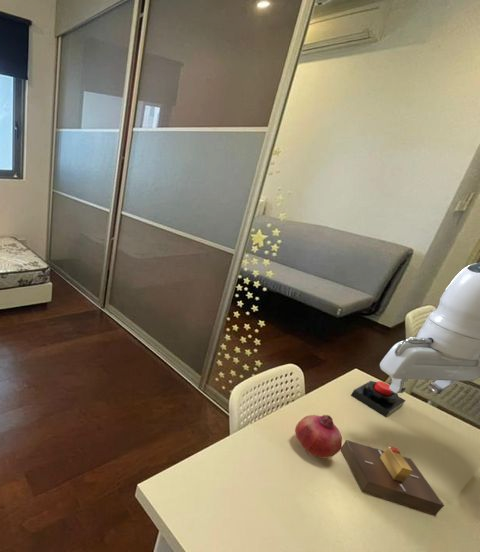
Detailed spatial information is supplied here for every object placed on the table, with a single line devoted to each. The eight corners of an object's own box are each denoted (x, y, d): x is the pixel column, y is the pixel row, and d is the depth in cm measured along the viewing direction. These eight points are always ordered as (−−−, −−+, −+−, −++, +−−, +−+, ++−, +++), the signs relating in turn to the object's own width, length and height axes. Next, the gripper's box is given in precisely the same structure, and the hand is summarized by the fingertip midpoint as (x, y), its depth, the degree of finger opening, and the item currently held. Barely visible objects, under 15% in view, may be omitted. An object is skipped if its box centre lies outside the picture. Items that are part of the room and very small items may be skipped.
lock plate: (403, 467, 69) (411, 458, 67) (435, 515, 60) (444, 505, 59) (340, 448, 71) (346, 439, 70) (361, 491, 63) (369, 481, 61)
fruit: (340, 462, 68) (362, 429, 64) (313, 470, 66) (334, 436, 62) (307, 431, 75) (325, 399, 71) (281, 436, 73) (297, 404, 69)
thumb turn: (403, 482, 62) (413, 469, 60) (393, 479, 62) (403, 467, 61) (388, 460, 66) (397, 447, 65) (379, 457, 67) (388, 445, 65)
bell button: (377, 384, 88) (380, 379, 87) (393, 393, 85) (396, 388, 85) (371, 388, 87) (374, 383, 86) (387, 397, 84) (390, 392, 83)
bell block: (367, 386, 93) (373, 375, 91) (401, 406, 87) (409, 395, 85) (350, 395, 88) (357, 384, 87) (385, 417, 82) (393, 406, 80)
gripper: (421, 347, 60) (385, 401, 66) (513, 351, 62) (471, 403, 68) (389, 328, 66) (359, 380, 71) (475, 332, 68) (439, 382, 74)
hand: (414, 391), depth 70 cm, fingers open, 8 cm apart
